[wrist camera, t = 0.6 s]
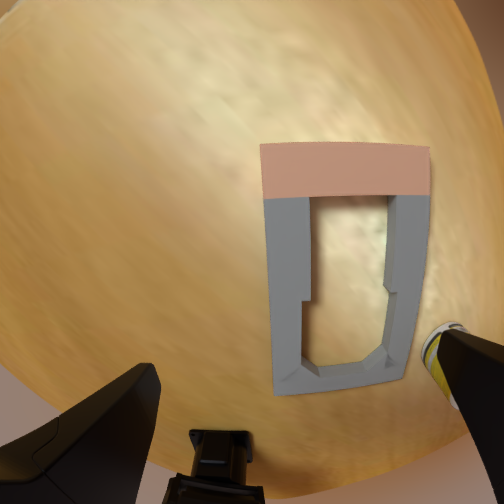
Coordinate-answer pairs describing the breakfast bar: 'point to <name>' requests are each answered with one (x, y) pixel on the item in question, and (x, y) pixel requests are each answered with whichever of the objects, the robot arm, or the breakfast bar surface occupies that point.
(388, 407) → the breakfast bar surface
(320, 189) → the keyhole board
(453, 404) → the supplement bottle
